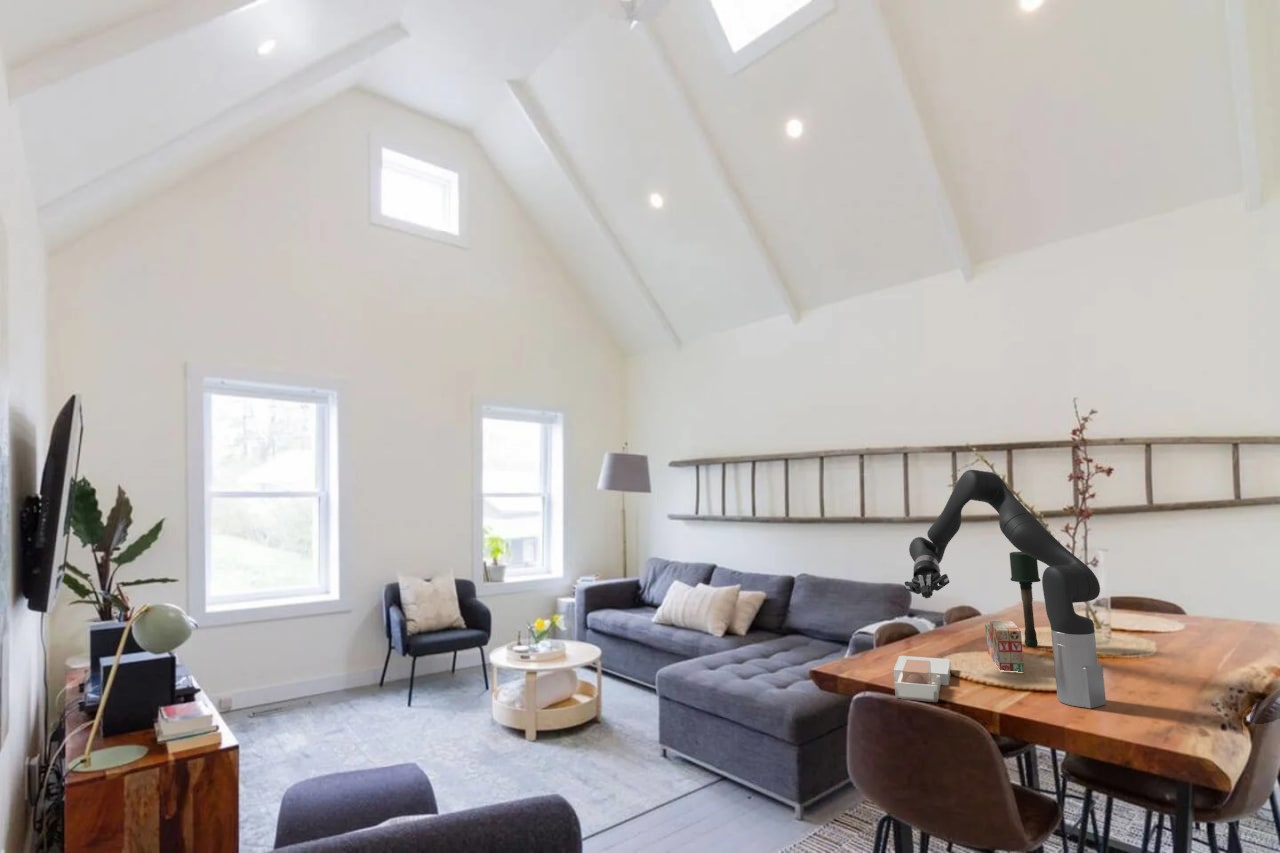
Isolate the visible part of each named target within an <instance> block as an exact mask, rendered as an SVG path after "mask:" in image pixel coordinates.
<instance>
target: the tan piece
mask: <svg viewBox="0 0 1280 853" xmlns="http://www.w3.org/2000/svg"><path fill="white" fill-rule="evenodd" d="M902 672H903V682H905V683H917V684H929V685H932V675H931V663H930V661H923V660H909V659H907V660H906V663H905V666H904V668H903V671H902Z"/></svg>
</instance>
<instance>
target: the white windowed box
mask: <svg viewBox="0 0 1280 853" xmlns="http://www.w3.org/2000/svg"><path fill="white" fill-rule="evenodd" d="M907 659H909V660H923V661H930V663H931V675H932V682H935V681H936V676H937V675H940V682H941V686H949V685H950V678H951V673H950V670H951V671H952V666H951V665H952V664H951V658H940V657H925V656H924V657H923V656H914V655H913V656H911V655H910V656H909V655H899V656H898V658H897V661H896V663H895V665H894V668H893V681H894V682H897V681H898V679H899V676H900V673H901V672H902V671H903V668H904V666H905V663H906V660H907Z"/></svg>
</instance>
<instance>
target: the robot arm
mask: <svg viewBox="0 0 1280 853" xmlns="http://www.w3.org/2000/svg"><path fill="white" fill-rule="evenodd" d="M970 501H976V502H983V503H986V504H988V505H990V506H991V507H992V508H993V509H994V510H995V511H996V512H997V513H998V515H999V516H998V524H999V528H1000V531H1001V532H1002V534H1003V535H1004V537H1005V538H1006V539H1007V540H1008V542H1010V543H1011V544H1012V546H1013V547H1015V548H1016V549H1017V550H1018V551H1019V552H1023V553H1025V554H1027V555H1029V556H1031V557H1033V558H1035V559H1037V561H1039V562H1042V563H1044V564H1045V565H1047V566H1048V567H1046V568H1045V569H1044V571H1043V573H1042V579H1041V583H1042V592H1043V597H1044V605H1045V612H1046V616H1047V618H1048V621H1049V624H1050V633H1051V643H1052V655H1053V663H1054V665H1053V666H1054V675H1055V677H1054V678H1055V686H1056V687H1055V688H1056V694H1057V696H1056V697H1057V700H1058V701H1059V702H1060V703H1063V704H1065V705H1068V706H1073V707H1078V708H1081V707H1082V708H1086V709H1094V708H1098V707H1101V706H1105V705H1107V699H1106V698H1107V697H1106V689H1105V680H1104V679H1105V678H1104V668H1103V665H1102V664H1101V663H1099V661H1098V653H1097V652H1098V651H1097V642H1096V641H1097V639H1096V632H1095V624H1094V623H1095V622H1094V621H1093V620H1092V619H1091V618H1089V617H1087V616H1082V615H1080V614H1078V613H1076V611H1075V608H1074V604H1075V603H1076V604H1077V603H1085V602H1086V603H1087V602H1091V601H1095V600H1096V599H1097V598H1098V597H1099V595H1100V593H1101V586H1100V581H1099V579H1098V578H1097V576H1096V574H1095V573H1094V572H1093V571H1092V569H1091V568H1090V567H1089V566H1088V565H1086V564H1085V563H1084V562H1083V561H1081V560H1080V559H1079V558H1078V557H1077V556H1075V555H1074V554H1073V553H1072V552H1070V550H1068V549H1067V548H1066V547H1065V546H1064V545H1063V544H1061V542H1059V540H1057V538H1055V536H1053V535H1052V534H1051V533H1050V532H1049V531H1048V530H1047V529H1046V528H1045V526H1044V525H1043V524H1042V523H1041V522H1040V521H1039V520H1038V519H1037V518H1036V517H1035V515H1033V514H1032V513H1031V512H1030V511H1029V510H1028V509H1027V508H1026V507H1025V506H1024V504H1022V503H1021V502H1020V501H1019V500H1018V499H1017V497H1016V496H1015V495H1014V493H1013V492H1012V491H1011V490H1010V488H1009V487H1008V485H1006V483H1005V482H1004V481H1003V479H1002V478H1001V477H1000V476H999V475H997V474H996V473H994V472H990V471H984V470H978V469H969V470H966V471H965V472H963V474H962V475H961V476H960V477H959V479H958V480H957V482H956V484H955V486H954V488H953V490H952V492H951V494H950V496H949V497H948V501H947V502H946V504H945V507H944V508H943V510H942V512H941V513H940V514H939V516H938V517H937V519H936V520H935V521H934V522H933V523H932V525H931V526H930V527H929V529H928V530H927V533H926V534H927V535H926V536H927V537H928V539H927V538H925V537H922V536H918V537H915V538H913V539H912V540H911V542H910V544H909V547H908V548H909V549H908V550H909V551H908V552H909V556H910V558H912V560H913V562H914V564H913V572H912V573H913V575H912V576H913V578H912V579H911V581H905V582H904V585H905V586H904V587H905V588H906V591H908V592H911V593H913V594H916V595H920V594H921V596H922V597H923V598H924V599H929V598H931V597H932V596H934V595H933V592H934V591H936V592H938V591H940V590H941V589H943V588H944V587H945V586H947V585H948V584H949V583H950V578H949V576H948V574H947V573H944V574H943V575H942V574H941V568H940V563H941V561H942V560H943V557H944V554H945V551H946V548H947V546H948V544H949V543H950V542H951V541H952V539H953V538H954V537H955V535H956V534H957V533H958V532H959V530H960V527H961V525H962V510H963V509H964V506H966V504H967V503H969V502H970Z"/></svg>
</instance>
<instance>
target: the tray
mask: <svg viewBox="0 0 1280 853" xmlns="http://www.w3.org/2000/svg"><path fill="white" fill-rule="evenodd" d="M941 686H942V685H941V682H940V675H937V676H936V681H935V682H932V685H929V684H917V683H905V682H903V672H901V673H900V676H899V679H898V681H894V693H895V694H894V695H895V699H898V698H901V699H900V700H911V701H919V702H920V701H922V702H929V703H931V702H932V703H938V702H939V697H940V692H939V691H941Z"/></svg>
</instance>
